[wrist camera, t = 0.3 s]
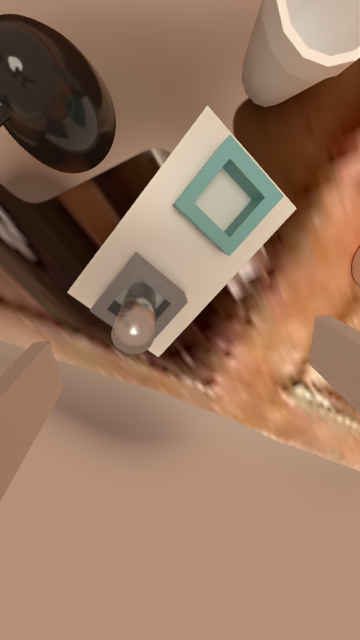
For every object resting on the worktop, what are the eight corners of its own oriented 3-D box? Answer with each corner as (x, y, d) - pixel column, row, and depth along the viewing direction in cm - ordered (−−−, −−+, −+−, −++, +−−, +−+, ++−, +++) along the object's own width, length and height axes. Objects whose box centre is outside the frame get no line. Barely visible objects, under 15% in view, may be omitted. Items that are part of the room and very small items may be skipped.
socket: (172, 205, 33) (174, 203, 29) (220, 145, 31) (229, 134, 27) (221, 251, 35) (229, 256, 31) (268, 198, 33) (283, 196, 29)
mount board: (70, 289, 37) (54, 302, 32) (205, 110, 31) (215, 87, 25) (158, 352, 42) (158, 373, 36) (291, 208, 36) (315, 207, 30)
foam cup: (255, 140, 32) (312, 96, 20) (211, 62, 29) (249, -45, 17) (323, 82, 31) (430, -3, 19) (285, -7, 28) (383, -179, 16)
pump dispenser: (10, 133, 30) (-118, 62, 16) (60, 46, 28) (-41, -127, 14) (87, 198, 33) (34, 185, 19) (138, 124, 31) (120, 46, 17)
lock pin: (120, 297, 37) (102, 338, 25) (138, 276, 36) (128, 306, 24) (143, 315, 38) (136, 361, 26) (161, 294, 37) (163, 332, 25)
